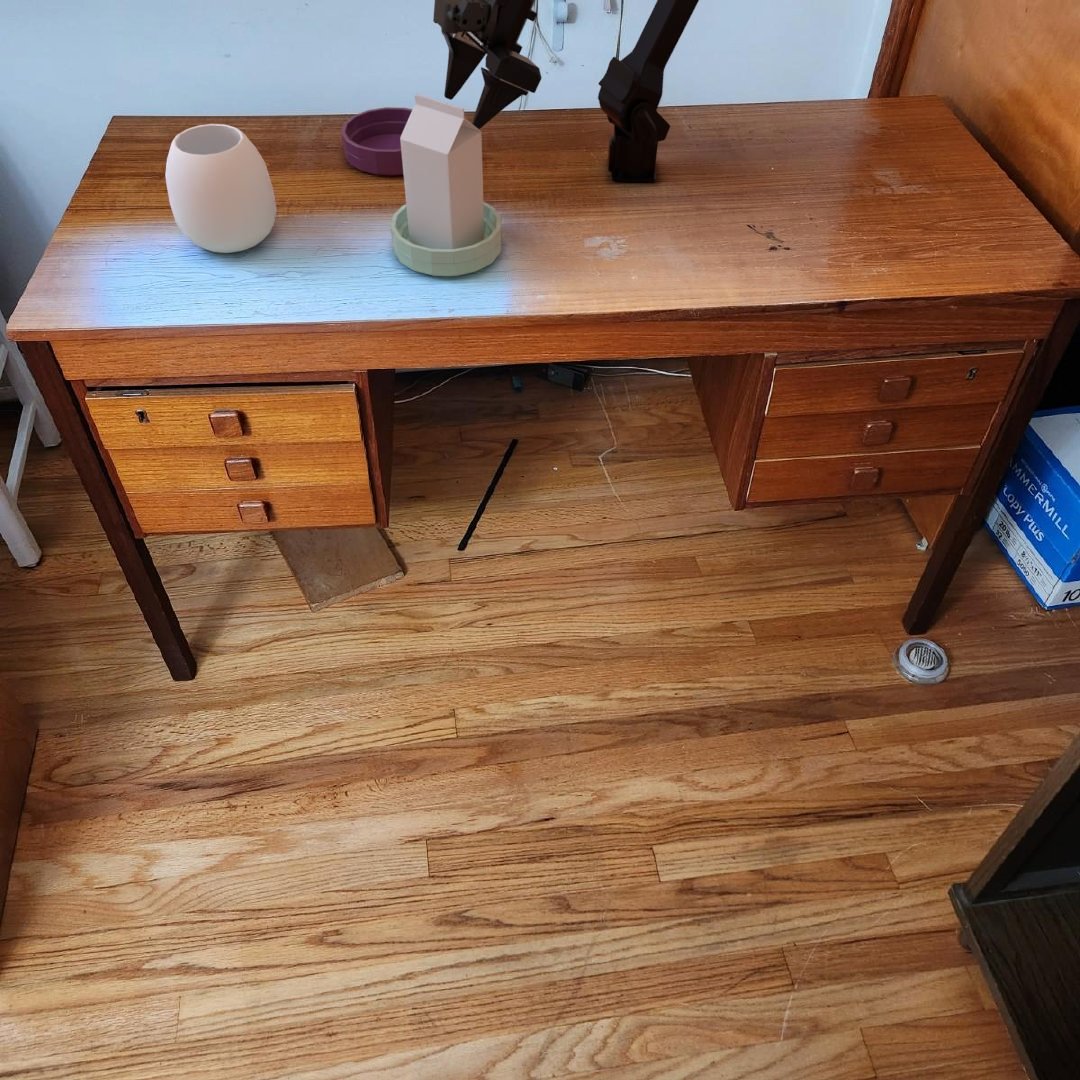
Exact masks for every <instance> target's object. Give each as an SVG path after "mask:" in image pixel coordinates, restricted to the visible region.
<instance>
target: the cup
mask: <svg viewBox="0 0 1080 1080" xmlns="http://www.w3.org/2000/svg"><path fill="white" fill-rule="evenodd" d="M165 166H166V167H165V175H164V176H165V184H166V189H167V196H168V200H169V205H170V208H171V212H172V216H173V218H174V221H175V225H176V226H177V227H178V228H179V230H180V232H182V234H183V235H184V236H185V238H187V239H188V241H190V242H191V243H192V244H194V245H196V246H198V247H200V248H202V249H203V250H207V251H210V252H212V253H224V254H230V253H238V252H242V251H247V250H248V249H250V248H251V249H252V248H254V247H255V246H257V245H258V244H259V243H261V242H262V241H263V240H265V239H266V238H267V236H269V234H270V233H271V231H272V229H273V227H274V226H275V221H276V215H277V210H278V208H277V203H276V197H275V191H274V187H273V184H272V180H271V177H270V174H269V171H268V167H267V164H266V161H265V160H264V158H263V157H262V155H261V153H260V152H259V150H258V149H257V147H256V146H255V145H254V143H253V142H252V141H251V140H250V139H249V137H247V135H246V134H245V133H244V132H243V131H242V130H241V129H239V128H237V127H235V126H232V125H228V124H223V123H218V124H217V123H208V124H200V125H196V126H192V127H189V128H186V129H185V130H183V131H181V132H179V133H178V134H176V135H175V137H174V138H173V140H172V141H171V143H170V147H169V151H168V155H167V157H166V165H165Z"/></svg>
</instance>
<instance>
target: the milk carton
mask: <svg viewBox="0 0 1080 1080" xmlns="http://www.w3.org/2000/svg"><path fill="white" fill-rule="evenodd" d="M412 109H413V110H412V112H411V114H410V117H409V119H408V121H407V124H406V126H405V128H404V130H403V133H402V135H401V137H400V141H401V152H402V163H403V183H404V194H405V204H406V206H407V217H408V228H409V239H410V242H411V243H413V244H415V245H419V246H423V247H427V248H431V249H457V248H462V247H467V246H472V245H474V244H476V243H478V242H480V241H482V240H484V207H483V201H484V175H483V173H484V171H483V137H482V131H481V130H480V129H478V128H476V127H475V126H474V125H473V124H472V122H470V121H469V120H468V119H467V118H466V117H465V108H463V107H460V106H457V105H454V104H450V103H447V102H443V101H440V100H437V99H434V98H430V97H427V96H424V95H421V94H418V93H415V94H414V105H413V108H412Z"/></svg>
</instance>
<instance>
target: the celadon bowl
mask: <svg viewBox="0 0 1080 1080" xmlns="http://www.w3.org/2000/svg"><path fill="white" fill-rule="evenodd" d="M483 207H484V240H482V241H480V242H478V243H476V244H474V245H472V246H467V247H462V248H457V249H431V248H427V247H423V246H419V245H415V244H413V243H411V242H410V239H409V228H408V217H407V206H406V203H405V204H403V205H402V206H401V207H399V209H397V210H396V211H395V212H394V213H393V214H392V216H391V223H390V234H391V235H390V236H391V244H392V251H393V253H394V255H395V257H396V259H397V260H398V262H399V263H401V264H402V265H404V266H405V267H407V268H409V269H410V270H411V271H414V272H418V273H422V274H425V275H429V276H433V277H434V276H435V277H458V276H463V275H467V274H471V273H475V272H478V271H479V270H482V269H484V268H485V267H487V266H490V265H491V264H493V262H494V261H495V260H496V259H497V258H498V256H499V255H500V254H501V252H502V217H501V215H500V214H499V213H498V211H497V209H496V208H495V207H494V206H493V205H491V204H489V203H487V202H486V201H484V200H483Z"/></svg>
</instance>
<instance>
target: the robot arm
mask: <svg viewBox="0 0 1080 1080" xmlns="http://www.w3.org/2000/svg"><path fill="white" fill-rule="evenodd" d="M699 1H700V0H656V2H655V3H654V7H653V8H652V11H651V13H650V15H649V17H648V18H647V21H646V23H645V25H644V27H643V29H642V31H641V33H640V36H639V37H638V40H637V41H636V44H635V46H634V47H633V49H632V50H631V51H630V52H629V53H628V54H627V55H626V56H624V57H623V58H622V59H619V58H617V57H616V56H613V57H612V58H611V59H610V61H609V63H608V66H607V69H606V72H605V73H604V75H603V77H602V78H601V79H600V80H599V82H598V85H599V86H600V88H599V91H598V94H597V100H598V103H599V108H600V109H601V111H602V112H603V113H604V114H605V115H606V117H607V121H608V122H609V123H610V124H612V125H613V135H612V136H609V138H608V149H607V150H608V151H607V171H608V172H609V173H610V177H611V178H610V179H611V181H612V182H629V183H630V182H631V183H633V182H634V183H635V182H636V183H656V181H657V174H656V163H657V156H658V155H657V154H658V145H659V142H663V141H665V140H666V138H667V136H668V133H669V131H670V128H671V124H670V123H668V121H666V119H665V118H664V117H663V116H662V115H661V114H660V113H659V112H658V111H657V110H658V107H659V105H660V103H661V100H662V97H663V92H664V91H663V90H664V88H663V87H664V74H665V69H666V66H667V65H668V63H669V60H670V59H671V56H672V54H673V53H674V51H675V49H676V47H677V45H678V43H679V41H680V39H681V37H682V35H683V33H684V31H685V29H686V27H687V25H688V24H689V21H690V19H691V17H692V16H693V13H694V11H695V9H696V8H697V5H698V4H699ZM536 2H537V1H536V0H434V7H433V16H432V17H433V20H432V22H433V23H434V24H437V25H438V26H439V27H440V29H441V30H440V32H441V34H442V36H443V38H444V40H445V42H446V45H447V48H448V57H447V58H448V59H447V68H446V77H445V87H444V98H446V99H448V100H450V101H452V100H453V99H454V98H455V97H456V96H457V95H458V93H459V92H460V91H461V89H462V88H463V87H464V85H465V84H466V82H467V81H468V80H469V78H470V77H471V75H473V73H474V72H475V71H476V69H477V68H478V66H479V65H480V63H481V62H482V60H483V59H484V58H485V67H483V66H480V72H481V75H482V78H483V83H484V84H483V87H482V91H481V94H480V97H479V100H478V103H477V105H476V109H475V112H474V116H473V118H472V119H473V120H472V122H471V124H473V125H474V126H475V127H476V128H478V129H479V130H480V129H482V128H483V127H484V126H486V125H487V124H488V123H489V122H490V121H491V120H492V119H493V118H495V117H496V116H497V115H499V113H501V112H502V111H503V110H504V109H505V108H507V107H508V106H509V105H511V104H512V103H513V102H515V101H516V100H518V99H519V98H520V97H522V96H525V97H526V96H528V94H529V92H530V93H532V94H535V93H536V91H537V90H538V87H539V85H540V83H541V81H542V78H543V77H542V74H541V69H540V67H539V66H537V65H536V64H535V63H534V62H533V61H532V60H530V58H528V57H527V56H525V55H523V54H521V52H522V50H523V46H522V45H521V44H520V43H519V42H518V41H519V40H520V37H521V34H522V32H523V30H524V28H525V25H526V24H527V21H528V20H529V21H531V22H533V23H534V22H535V20H536V18H537V15H538V13H537V12H536V11H535V10H534V9H533V7H534V5H535V3H536Z"/></svg>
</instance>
